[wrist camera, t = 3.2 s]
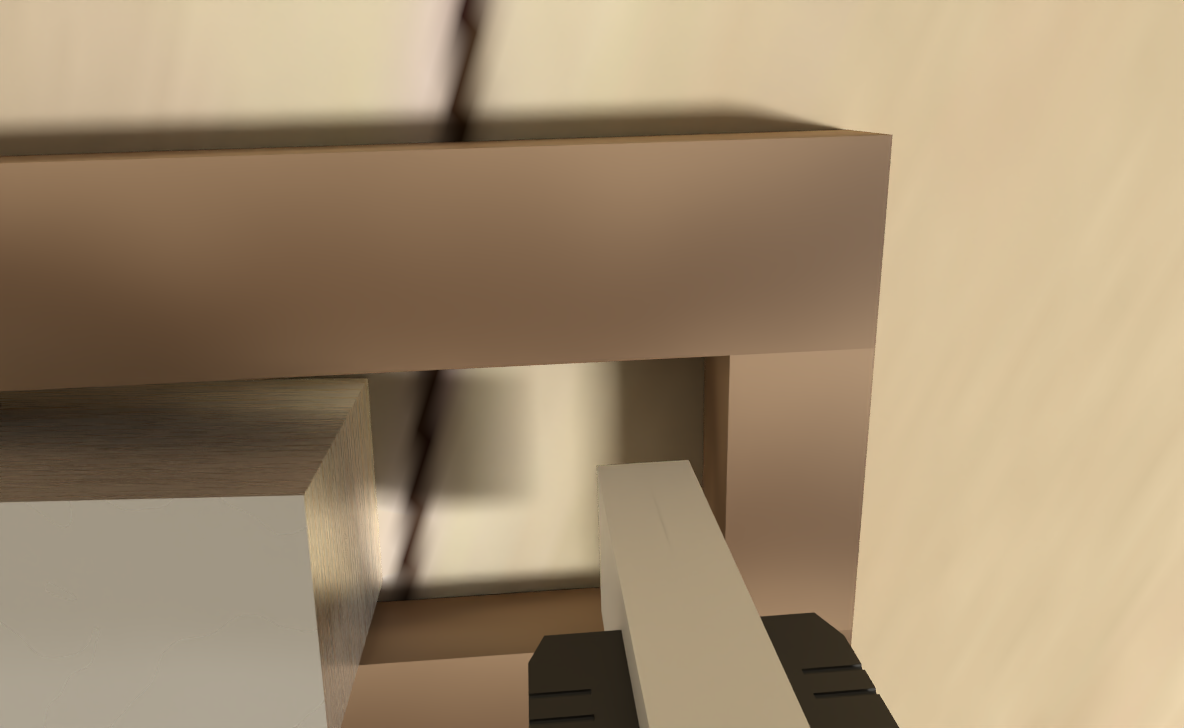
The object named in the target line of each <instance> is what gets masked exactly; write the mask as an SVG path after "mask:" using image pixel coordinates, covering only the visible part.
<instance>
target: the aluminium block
mask: <svg viewBox="0 0 1184 728" xmlns="http://www.w3.org/2000/svg"><path fill="white" fill-rule="evenodd" d="M382 582H383V579H382V566H381V552H380V539H379V525H378V511H377V498H376V484H375V470H374V457H373V443H372V430H371V416H370V402H369V389H368V378H332V379H260V380H224V381H203V382H183V383H163V384H143V385H123V386H103V387H82V388H62V389H42V390H22V391H2V392H0V728H341V725H342V721H343V718H344V714H345V711H346V707H347V704H348V700H349V697H350V693H351V690H352V686H353V683H354V679H355V676H356V672H357V669H358V666H359V662H360V659H361V655H362V652H363V648H364V645H365V641H366V638H367V634H368V631H369V627H370V624H371V620H372V617H373V613H374V610H375V607H376V603H377V600H378V596H379V593H380V589H381V586H382Z"/></svg>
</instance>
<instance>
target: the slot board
mask: <svg viewBox="0 0 1184 728" xmlns="http://www.w3.org/2000/svg"><path fill="white" fill-rule="evenodd" d="M891 146H892V135H888V134H879V133H871V132H862V131H853V130H819V131H787V132H755V133H723V134H691V135H659V136H628V137H596V138H564V139H532V140H500V141H468V142H436V143H404V144H373V145H341V146H309V147H277V148H245V149H213V150H181V151H150V152H118V153H86V154H54V155H22V156H0V392H2V391H22V390H42V389H62V388H82V387H103V386H123V385H143V384H163V383H183V382H203V381H224V380H244V379H264V378H284V377H304V376H325V375H345V374H365V373H385V372H405V371H426V370H446V369H466V368H486V367H506V366H527V365H547V364H567V363H587V362H607V361H628V360H648V359H668V358H688V357H705V376H704V438H703V493H704V495H705V497H706V499H707V502H708V504H709V506H710V508H711V510H712V513H713V515H714V517H715V519H716V521H717V524H718V526H719V528H720V530H721V532H722V535H723V537H724V539H725V541H726V543H727V546H728V548H729V550H730V552H731V554H732V557H733V559H734V561H735V563H736V565H737V568H738V570H739V572H740V574H741V576H742V579H743V581H744V583H745V585H746V587H747V590H748V592H749V594H750V596H751V598H752V601H753V603H754V605H755V607H756V609H757V612H758V614H759V616H773V615H786V614H799V613H812V612H815V613H816V614H817V615H818V616H820V617H821V618H822V619H824V620H825V621H826V622H827V623H829V624H830V625H831V626H833V627H834V628H835V629H837V630H838V631H839V632H840V633H842V634H843V635H844V636H845V637H846V639H847V641H848V642H849V644H850V646H851V638H852V626H853V614H854V601H855V589H856V577H857V565H858V552H859V540H860V528H861V515H862V503H863V491H864V478H865V466H866V454H867V442H868V429H869V417H870V405H871V392H872V380H873V368H874V355H875V343H876V331H877V319H878V306H879V294H880V282H881V269H882V257H883V245H884V232H885V220H886V208H887V196H888V183H889V171H890V159H891ZM599 631H604V625H603V618H602V612H601V587H598V588H584V589H569V590H554V591H539V592H525V593H510V594H495V595H480V596H466V597H451V598H436V599H421V600H407V601H392V602H377V603H376V607H375V610H374V613H373V617H372V620H371V624H370V627H369V631H368V634H367V638H366V641H365V645H364V648H363V652H362V655H361V659H360V662H359V666H358V669H357V672H356V676H355V679H354V683H353V686H352V690H351V693H350V697H349V700H348V704H347V707H346V711H345V714H344V718H343V721H342V725H341V728H529V694H528V662H529V661H530V659H531V657H532V656H533V654H534V652H535V650H536V649H537V647H538V645H539V644H540V642H541V640H542V638H543V637H544V636H546V635H559V634H572V633H585V632H599Z"/></svg>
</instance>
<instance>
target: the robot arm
mask: <svg viewBox="0 0 1184 728" xmlns="http://www.w3.org/2000/svg"><path fill="white" fill-rule="evenodd" d="M597 493H598V523H599V554H600V584H601V612H602V618H603V625H604V631H599V632H585V633H572V634H559V635H546V636H544V637H543V638H542V640H541V642H540V644H539V645H538V647H537V649H536V650H535V652H534V654H533V656H532V657H531V659H530V661H529V662H528V694H529V728H899V727H898V725H897V723H896V722H895V720H894V718H893V717H892V715H891V713H890V711H889V710H888V708H887V706H886V705H885V703H884V701H883V700H882V698H881V696H880V695H879V694H876V688H875V686H874V685H873V683H872V681H871V680H870V678H869V676H868V674H867V673H866V671H865V670H862V667H861V663H860V661H859V659H858V658H857V656H856V654H855V653H854V651H853V649H852V648H851V646H850V644H849V642H848V641H847V639H846V637H845V636H844V635H843V634H842V633H840V632H839V631H838V630H837V629H835V628H834V627H833V626H831V625H830V624H829V623H827V622H826V621H825V620H824V619H822V618H821V617H820V616H818V615H817V614H816V613H815V612H812V613H799V614H786V615H773V616H759V614H758V612H757V609H756V607H755V605H754V603H753V601H752V598H751V596H750V594H749V592H748V590H747V587H746V585H745V583H744V581H743V579H742V576H741V574H740V572H739V570H738V568H737V565H736V563H735V561H734V559H733V557H732V554H731V552H730V550H729V548H728V546H727V543H726V541H725V539H724V537H723V535H722V532H721V530H720V528H719V526H718V524H717V521H716V519H715V517H714V515H713V513H712V510H711V508H710V506H709V504H708V502H707V499H706V497H705V495H704V493H703V491H702V488H701V486H700V484H699V482H698V480H697V477H696V475H695V473H694V471H693V469H692V466H691V464H690V462H689V460H677V461H661V462H645V463H630V464H614V465H598V466H597Z"/></svg>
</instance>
